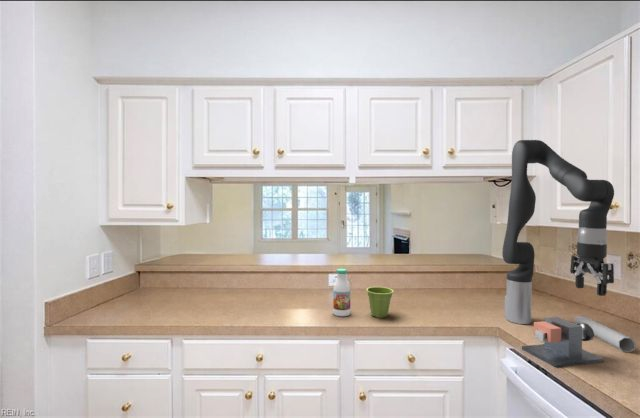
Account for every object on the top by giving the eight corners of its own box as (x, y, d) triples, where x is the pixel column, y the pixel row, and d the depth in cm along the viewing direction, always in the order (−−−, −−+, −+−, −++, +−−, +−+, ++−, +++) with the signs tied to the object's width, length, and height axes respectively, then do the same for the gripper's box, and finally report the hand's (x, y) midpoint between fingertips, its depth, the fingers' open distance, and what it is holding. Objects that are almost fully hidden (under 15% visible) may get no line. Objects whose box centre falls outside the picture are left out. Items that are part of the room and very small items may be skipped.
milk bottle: (330, 312, 155) (330, 268, 154) (346, 310, 157) (346, 267, 157) (337, 317, 148) (337, 271, 147) (353, 315, 150) (353, 270, 150)
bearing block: (521, 349, 116) (522, 317, 116) (566, 344, 120) (566, 314, 119) (555, 367, 103) (555, 331, 103) (603, 361, 107) (604, 327, 107)
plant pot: (375, 321, 143) (375, 294, 143) (361, 312, 154) (361, 288, 154) (398, 317, 147) (399, 291, 147) (383, 309, 158) (384, 285, 158)
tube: (569, 315, 139) (616, 339, 115) (582, 312, 139) (632, 335, 114) (573, 328, 139) (621, 354, 114) (587, 324, 139) (638, 350, 114)
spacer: (533, 334, 113) (533, 322, 113) (543, 333, 114) (544, 321, 114) (550, 342, 107) (550, 329, 107) (561, 341, 108) (561, 328, 107)
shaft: (532, 341, 112) (532, 324, 112) (577, 336, 116) (577, 320, 116) (546, 348, 107) (546, 330, 107) (593, 343, 111) (594, 326, 110)
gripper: (563, 238, 117) (562, 285, 118) (599, 245, 103) (597, 298, 103) (585, 238, 117) (583, 285, 118) (623, 244, 103) (621, 298, 104)
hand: (590, 291), depth 111 cm, fingers open, 8 cm apart
